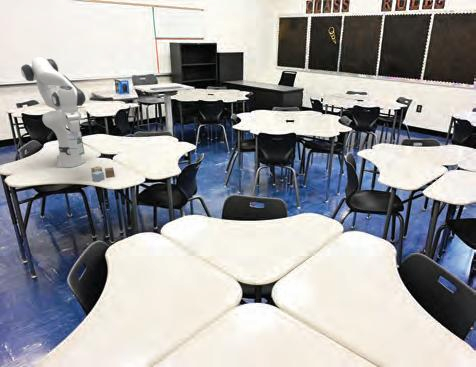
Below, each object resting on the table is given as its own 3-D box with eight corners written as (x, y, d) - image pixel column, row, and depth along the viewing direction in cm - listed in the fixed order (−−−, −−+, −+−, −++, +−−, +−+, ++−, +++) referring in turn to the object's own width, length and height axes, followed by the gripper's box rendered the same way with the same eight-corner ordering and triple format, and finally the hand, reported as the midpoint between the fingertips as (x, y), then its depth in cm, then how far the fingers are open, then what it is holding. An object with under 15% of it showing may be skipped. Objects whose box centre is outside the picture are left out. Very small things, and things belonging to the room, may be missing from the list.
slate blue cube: (92, 180, 220) (91, 173, 218) (98, 178, 224) (97, 170, 222) (98, 182, 218) (97, 174, 216) (104, 179, 222) (103, 172, 220)
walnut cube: (105, 175, 228) (104, 168, 227) (113, 174, 230) (112, 167, 229) (106, 178, 224) (105, 170, 222) (114, 176, 226) (113, 169, 224)
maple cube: (92, 174, 230) (90, 167, 228) (99, 172, 234) (98, 165, 232) (95, 176, 227) (94, 169, 225) (103, 174, 231) (101, 167, 229)
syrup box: (79, 156, 214) (75, 133, 209) (70, 156, 215) (66, 132, 210) (84, 154, 219) (81, 131, 214) (76, 153, 220) (72, 130, 215)
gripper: (61, 112, 214) (65, 134, 219) (68, 117, 199) (72, 141, 204) (72, 111, 218) (76, 133, 223) (80, 116, 202) (83, 139, 207)
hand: (74, 137), depth 213 cm, fingers closed on syrup box, 8 cm apart
